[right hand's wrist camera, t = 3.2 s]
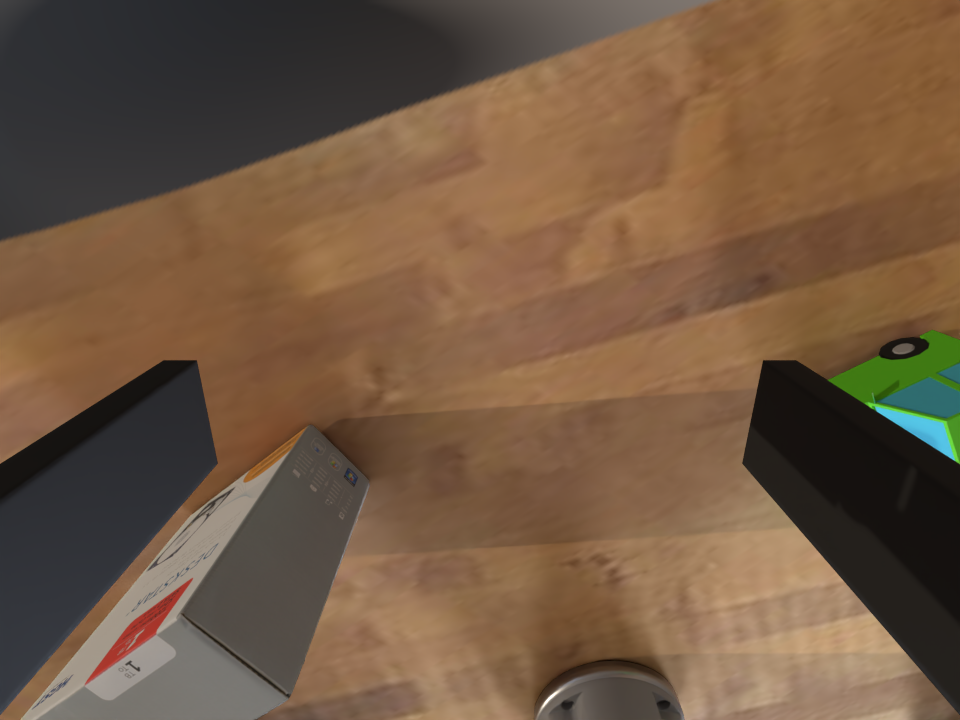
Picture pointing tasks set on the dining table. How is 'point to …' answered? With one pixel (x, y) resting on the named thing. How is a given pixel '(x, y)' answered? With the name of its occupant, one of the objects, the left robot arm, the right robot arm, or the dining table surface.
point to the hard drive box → (223, 600)
